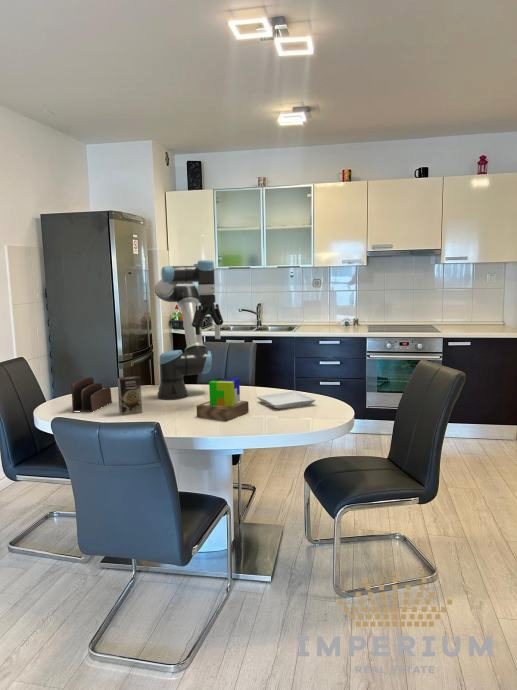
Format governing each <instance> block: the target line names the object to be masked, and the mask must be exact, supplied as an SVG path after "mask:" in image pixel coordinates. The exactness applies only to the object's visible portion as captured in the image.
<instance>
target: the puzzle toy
mask: <svg viewBox="0 0 517 690" xmlns="http://www.w3.org/2000/svg"><path fill="white" fill-rule="evenodd" d="M208 384H209V385H208V386H209V388H208V389H209V401H210V406H234V405H235V404H237V403H238V402H240V401H241V394H240V393H241V391H240V390H241V388H240V378H231V377H230V378H227V377H224V378H223V377H217V378H215V379H213V380H211V381H209V382H208Z"/></svg>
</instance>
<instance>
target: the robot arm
mask: <svg viewBox="0 0 517 690" xmlns="http://www.w3.org/2000/svg"><path fill="white" fill-rule="evenodd" d="M160 277H161V280H158V281H157V282H156V284H155V286H154V293H155V295H156V296H157V298H159V299H160V300H162V301H164V302H167V303H176V304H177V306H178V307H179V308H180V310H181V316H182V323H183V330H184V336H185V337H184V338H185V342H186V343H185V344H186V347H185V349H184V352H183V350H181V349H176V350H175V349H174V350H170V351H164V352H162V353H161V354H160V355H159V357H158V358H159V363H158V365H159V377H160V378H159V379H160V383H159V387H158V391H157V398H158V399H160V400H179V399H185V398H186V397H189V396H188V394H189V393H188V390H187V388H186V384H185V382H184V376H192V375H203V374H204V375H205V374H208V373H209V372H210V371H211V369H212V364H213V363H212V361H213V357H212V352H211V350H208V348H207V346H206V345H204V341H203V333H202V332H203V331H202V329H203V328H202V327H201V326H202V324H203V322H204V319H205V318H206V316H210V317H211V319H212V320H213V322H214V339H215V340H221V331H222V330H221V329H222V328H221V326H222V325H223V324H224V319H223V316H222V313H221V311H220V307H219V304H218V303H217V304H216V295H215V293H216V289H215V287H216V285H215V283H216V282H215V262H214V261H213V260H211V259H207V260H206V259H202V260H197V265H168V266H167V265H166V266H162V268H161V276H160ZM199 303H200V305H199Z"/></svg>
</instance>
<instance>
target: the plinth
mask: <svg viewBox="0 0 517 690" xmlns="http://www.w3.org/2000/svg"><path fill="white" fill-rule="evenodd" d="M248 412H249V413H250V410H249V401H246V400H240V402H238V403H237V404H235V405H234V406H210V400H208V401H206V402H202V403H200V404H197V405H196V418H203V419H210V420H216V421H222V422H223V421H225V422H228V420H229V421H231V420H233V418H234V419H236V418H239V417H241V416H244V415H246V413H247V414H249V413H248ZM243 414H244V415H243ZM238 416H239V417H238Z"/></svg>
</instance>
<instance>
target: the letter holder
mask: <svg viewBox="0 0 517 690" xmlns="http://www.w3.org/2000/svg"><path fill="white" fill-rule="evenodd" d="M94 379H95V378H94V377H93V376H88V377H84V378H82V379H79V380H77V381H75V382H74V383H72V384H71V403H72V404H71V405H72V412H73V411H80V412H93V411H95V410H97V409H99V410H100V408H101V407H103V408H104V406H105V407H107V406H108V405H110V404H113V398H112V397H113V396H112V390H111V387H104V388H103V383H102V382H94V381H95V380H94ZM109 403H110V404H109ZM107 404H108V405H107ZM101 409H102V408H101ZM97 411H98V410H97ZM80 412H79V413H80ZM95 412H96V411H95ZM93 413H94V412H93Z"/></svg>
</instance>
